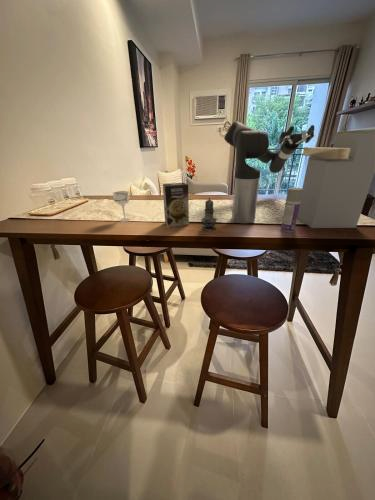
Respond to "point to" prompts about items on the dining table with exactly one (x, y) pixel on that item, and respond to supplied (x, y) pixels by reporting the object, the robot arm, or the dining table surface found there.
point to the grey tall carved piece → (209, 217)
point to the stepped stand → (339, 183)
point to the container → (291, 209)
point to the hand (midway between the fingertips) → (303, 127)
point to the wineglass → (122, 201)
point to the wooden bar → (327, 152)
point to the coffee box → (176, 204)
